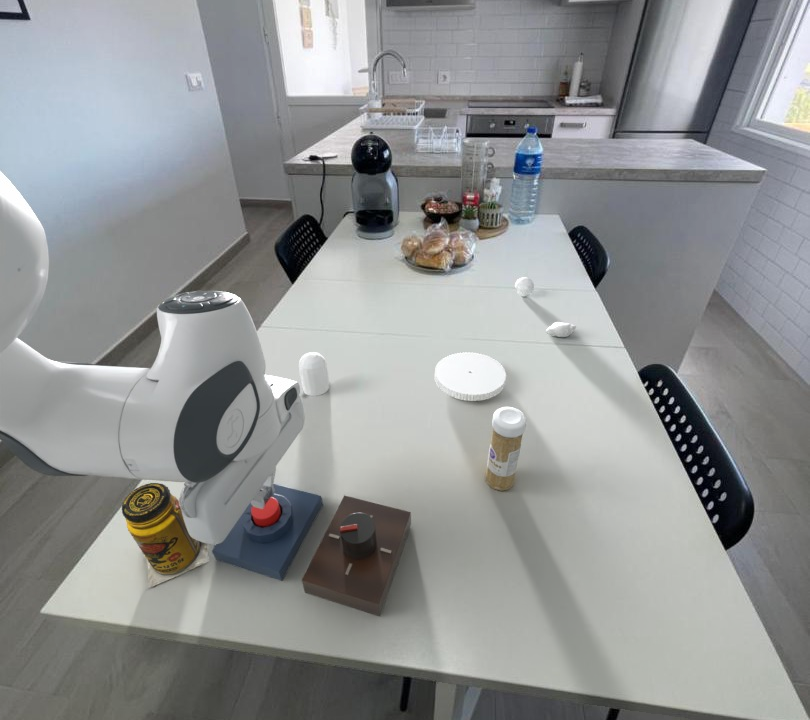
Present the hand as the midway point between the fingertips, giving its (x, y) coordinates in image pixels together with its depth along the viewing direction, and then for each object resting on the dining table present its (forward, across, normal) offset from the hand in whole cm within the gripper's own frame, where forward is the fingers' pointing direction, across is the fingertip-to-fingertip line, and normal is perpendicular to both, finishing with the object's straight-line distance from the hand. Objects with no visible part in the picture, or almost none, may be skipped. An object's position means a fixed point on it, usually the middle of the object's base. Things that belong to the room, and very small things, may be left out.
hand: (264, 499), depth 59 cm
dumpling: (+8, +64, -37) cm, 74 cm away
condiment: (+7, -6, +11) cm, 15 cm away
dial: (+4, 0, -13) cm, 14 cm away
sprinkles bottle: (+8, +18, -29) cm, 35 cm away
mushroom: (+8, +82, -27) cm, 87 cm away
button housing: (+7, 0, 0) cm, 7 cm away
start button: (+4, 0, 0) cm, 4 cm away
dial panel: (+7, 0, -13) cm, 15 cm away
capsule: (+7, +31, +9) cm, 33 cm away
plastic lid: (+8, +41, -20) cm, 46 cm away
